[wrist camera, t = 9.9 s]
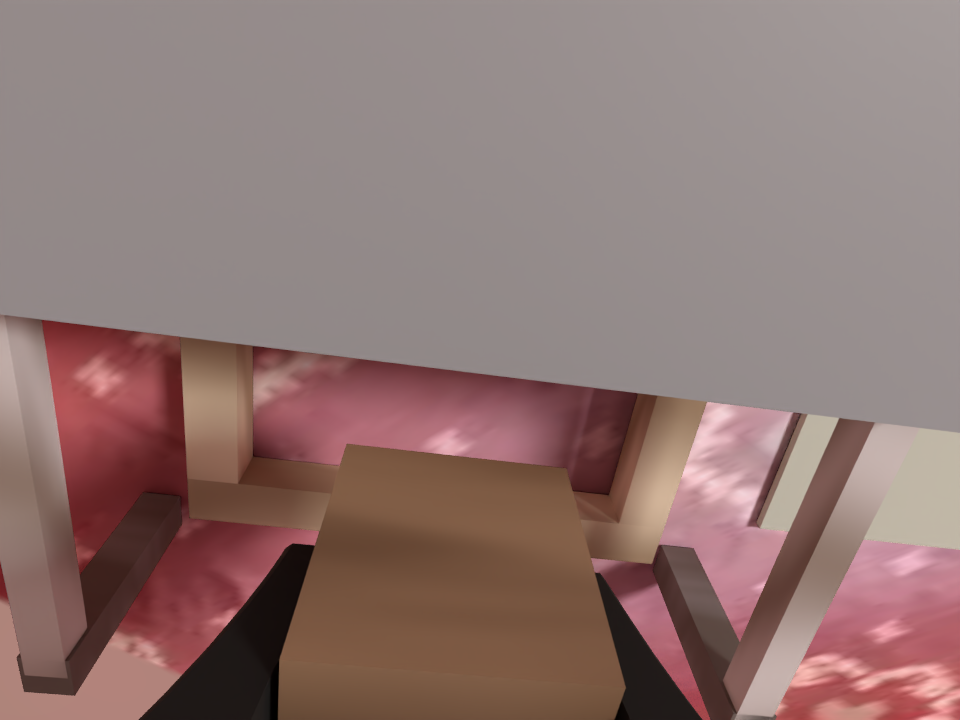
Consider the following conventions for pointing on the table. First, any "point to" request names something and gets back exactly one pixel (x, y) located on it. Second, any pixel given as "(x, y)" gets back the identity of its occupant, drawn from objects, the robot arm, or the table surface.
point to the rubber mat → (909, 501)
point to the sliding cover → (505, 188)
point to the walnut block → (449, 598)
